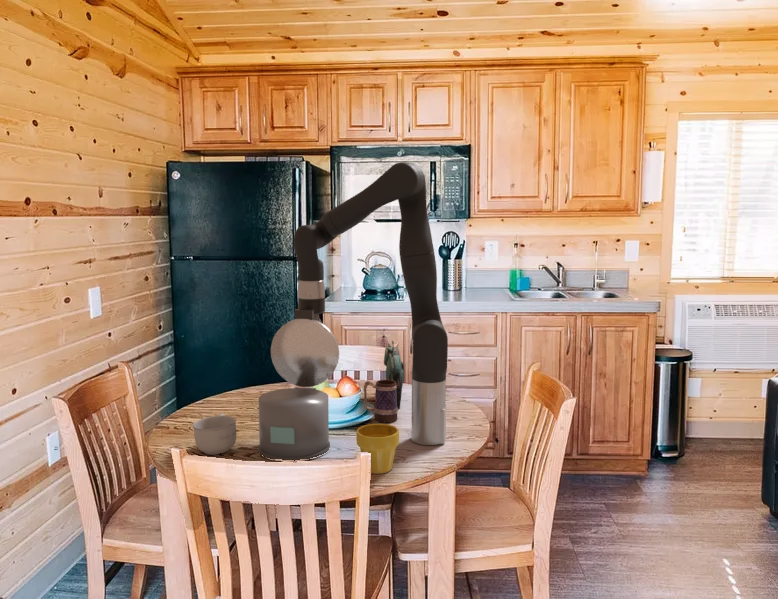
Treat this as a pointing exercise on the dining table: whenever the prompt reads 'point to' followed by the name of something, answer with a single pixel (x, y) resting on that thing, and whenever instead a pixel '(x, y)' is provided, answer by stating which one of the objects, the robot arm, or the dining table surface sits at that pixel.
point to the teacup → (215, 434)
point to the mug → (383, 400)
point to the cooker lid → (304, 350)
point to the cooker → (293, 423)
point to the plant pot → (379, 445)
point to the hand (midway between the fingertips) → (312, 355)
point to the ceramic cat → (394, 369)
